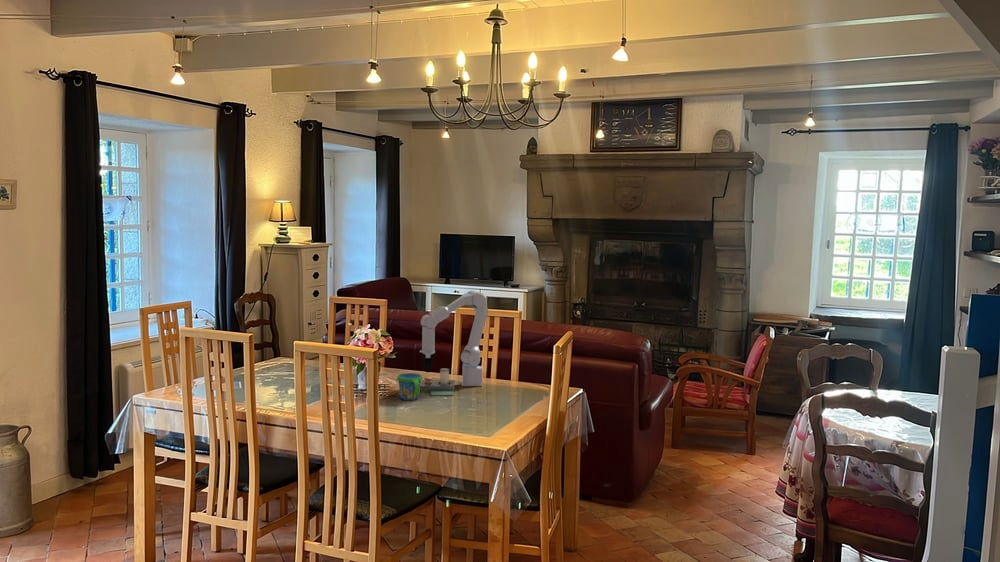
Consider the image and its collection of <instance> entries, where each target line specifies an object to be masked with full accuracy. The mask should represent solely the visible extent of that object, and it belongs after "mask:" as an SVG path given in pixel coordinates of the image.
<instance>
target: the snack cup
mask: <svg viewBox="0 0 1000 562" xmlns="http://www.w3.org/2000/svg"><path fill="white" fill-rule="evenodd" d="M396 378H397V381H398V388H399V396H400V399H401V400H403V401H416V400H417V399H419V396H420V394H421V384H422V380H423V376H422V375H421V374H419V373H401V374H399V375H398V374H397V376H396Z"/></svg>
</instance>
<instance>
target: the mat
mask: <svg viewBox="0 0 1000 562" xmlns="http://www.w3.org/2000/svg"><path fill="white" fill-rule="evenodd" d="M430 396H431V397H453V396H454V392H453V391H431V392H430Z"/></svg>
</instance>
